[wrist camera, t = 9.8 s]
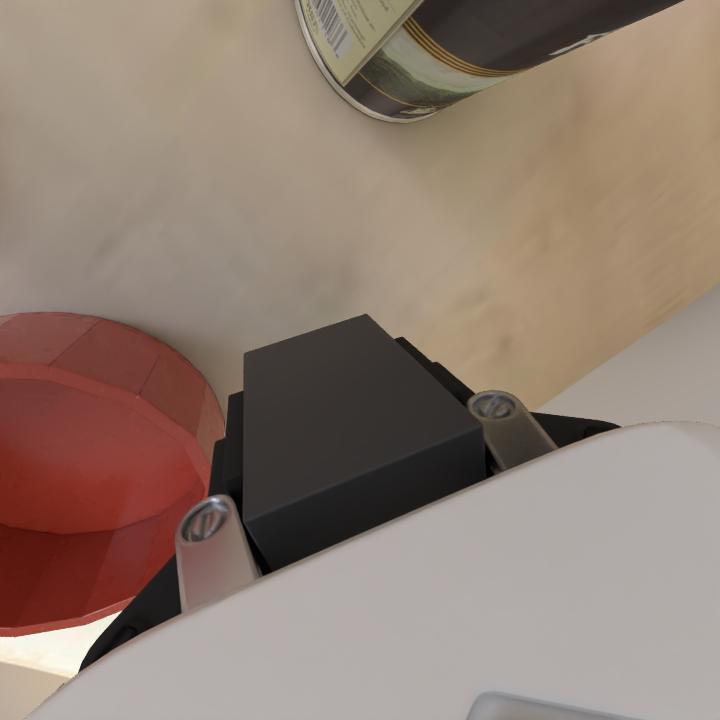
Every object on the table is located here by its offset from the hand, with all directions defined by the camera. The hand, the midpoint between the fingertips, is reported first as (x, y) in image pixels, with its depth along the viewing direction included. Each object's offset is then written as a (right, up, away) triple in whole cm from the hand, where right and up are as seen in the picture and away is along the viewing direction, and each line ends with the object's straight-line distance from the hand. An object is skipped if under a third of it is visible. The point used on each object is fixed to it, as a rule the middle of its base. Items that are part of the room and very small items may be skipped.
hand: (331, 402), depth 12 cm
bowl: (-15, -3, +8) cm, 18 cm away
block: (0, +1, +1) cm, 1 cm away
